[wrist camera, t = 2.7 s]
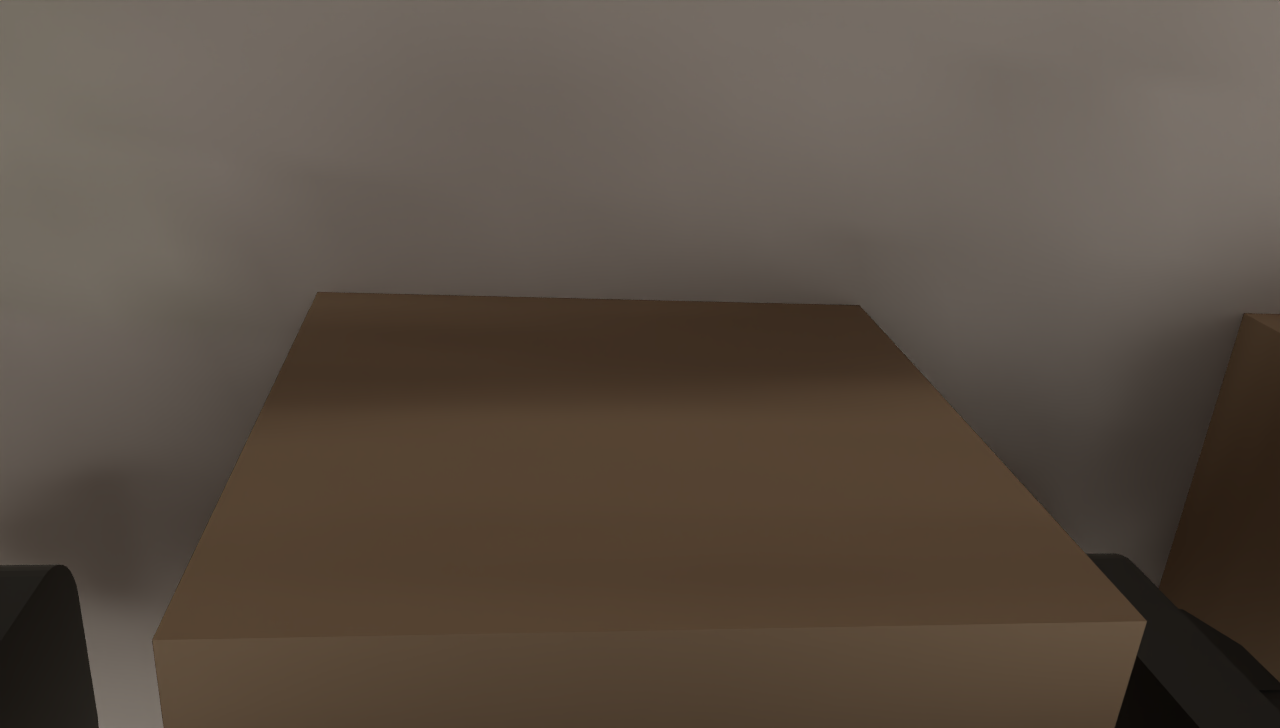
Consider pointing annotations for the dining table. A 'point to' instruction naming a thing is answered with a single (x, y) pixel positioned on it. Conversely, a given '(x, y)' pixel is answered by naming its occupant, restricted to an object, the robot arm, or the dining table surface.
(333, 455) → the block near
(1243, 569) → the block far
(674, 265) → the dining table surface
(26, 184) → the dining table surface
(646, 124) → the dining table surface
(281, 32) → the dining table surface
